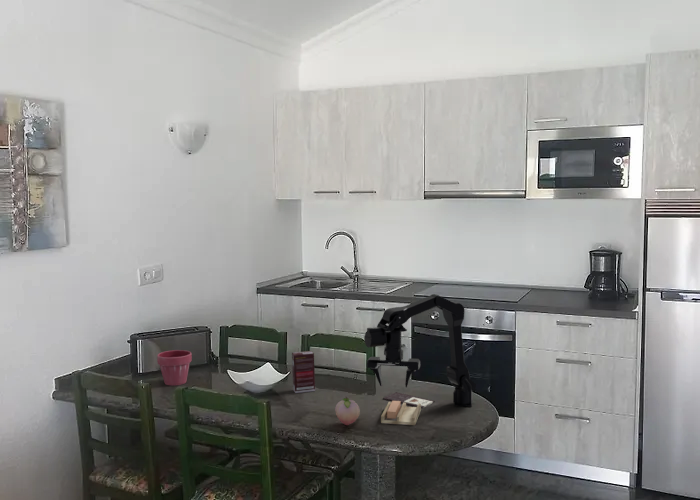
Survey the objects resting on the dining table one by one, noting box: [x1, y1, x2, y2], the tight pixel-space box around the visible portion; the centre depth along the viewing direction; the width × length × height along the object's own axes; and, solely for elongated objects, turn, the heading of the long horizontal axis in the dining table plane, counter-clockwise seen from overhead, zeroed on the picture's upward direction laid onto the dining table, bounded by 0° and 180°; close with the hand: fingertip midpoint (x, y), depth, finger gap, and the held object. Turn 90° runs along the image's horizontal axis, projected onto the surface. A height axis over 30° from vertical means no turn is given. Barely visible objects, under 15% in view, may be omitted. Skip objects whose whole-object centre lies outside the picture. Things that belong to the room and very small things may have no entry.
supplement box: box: [291, 350, 316, 394], centre depth 276 cm, size 9×5×16 cm, turn 106°
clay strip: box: [387, 401, 402, 419], centre depth 244 cm, size 3×12×2 cm, turn 167°
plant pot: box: [156, 349, 193, 386], centre depth 290 cm, size 14×14×13 cm
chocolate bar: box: [382, 391, 435, 409], centre depth 262 cm, size 9×1×18 cm
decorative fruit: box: [334, 397, 361, 426], centre depth 236 cm, size 9×8×10 cm
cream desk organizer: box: [380, 401, 422, 426], centre depth 244 cm, size 12×16×2 cm
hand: (393, 386), depth 244 cm, fingers open, 9 cm apart
